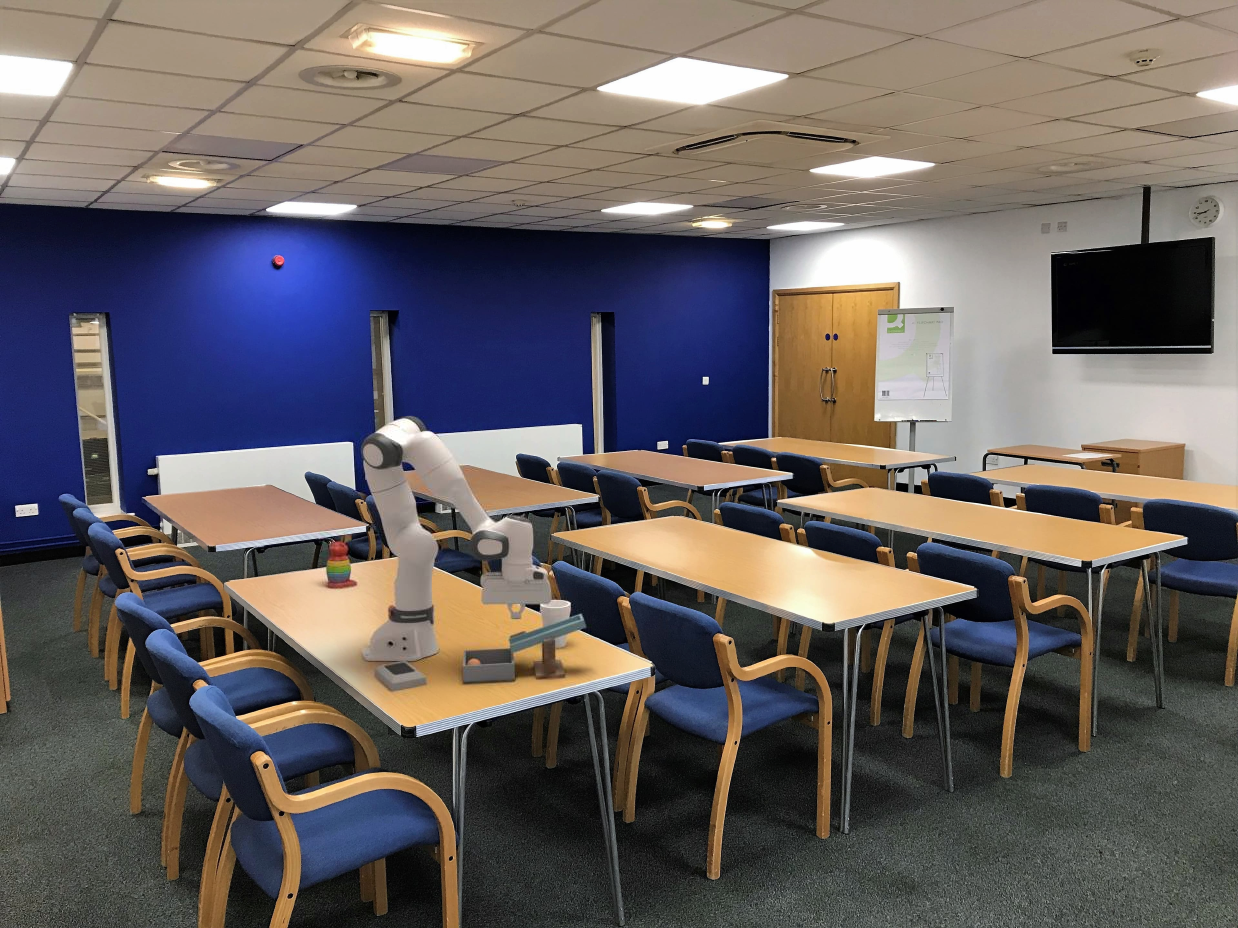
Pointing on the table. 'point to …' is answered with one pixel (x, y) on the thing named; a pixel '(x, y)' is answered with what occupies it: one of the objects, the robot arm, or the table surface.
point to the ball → (473, 662)
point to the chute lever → (545, 633)
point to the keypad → (399, 676)
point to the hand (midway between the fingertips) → (515, 618)
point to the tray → (489, 666)
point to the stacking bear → (339, 567)
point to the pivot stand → (548, 662)
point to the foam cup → (556, 616)
